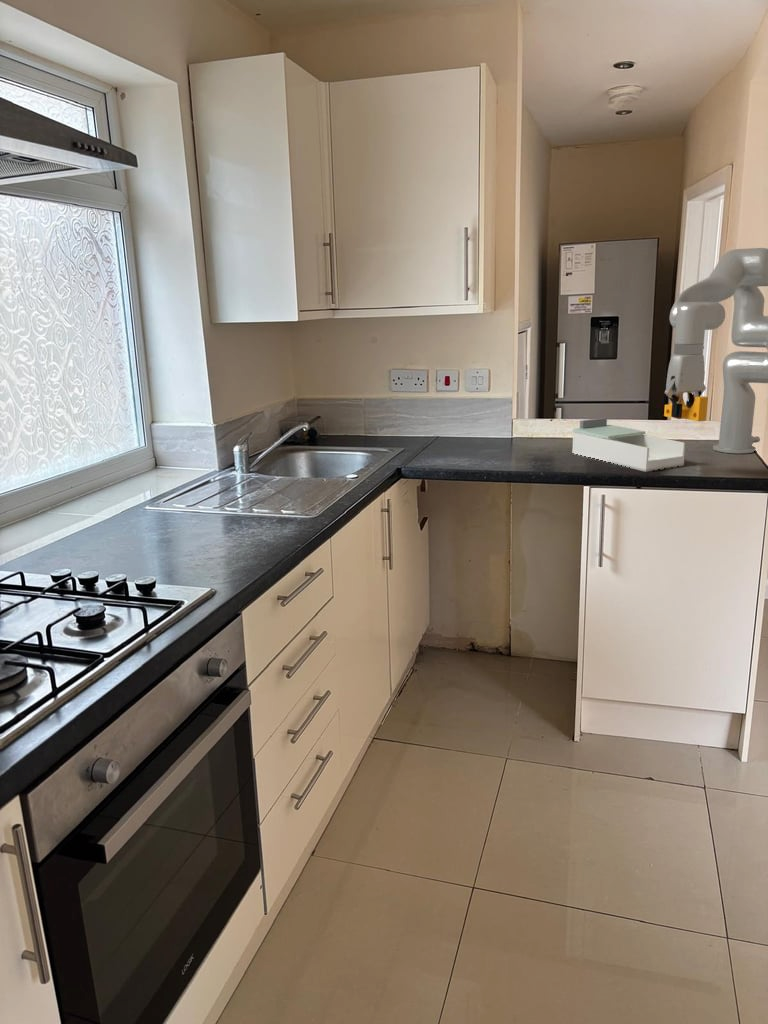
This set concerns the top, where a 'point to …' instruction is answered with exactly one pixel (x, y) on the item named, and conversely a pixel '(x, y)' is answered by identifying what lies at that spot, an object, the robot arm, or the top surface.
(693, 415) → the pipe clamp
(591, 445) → the housing
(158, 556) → the top surface
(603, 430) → the lid
